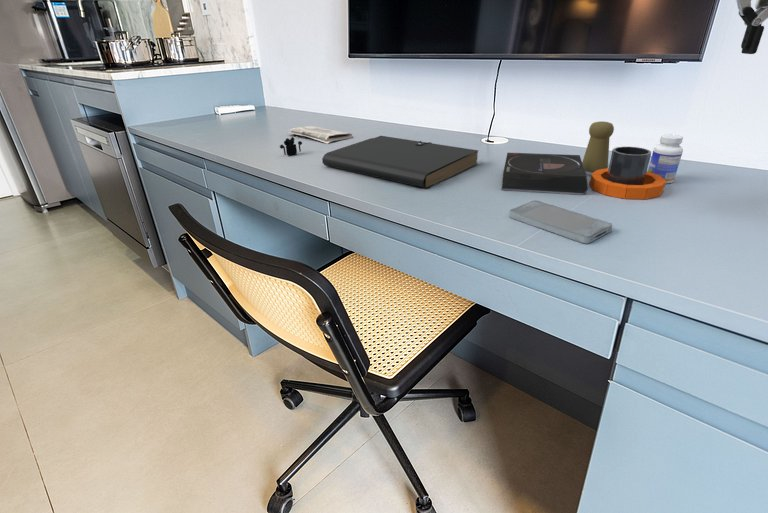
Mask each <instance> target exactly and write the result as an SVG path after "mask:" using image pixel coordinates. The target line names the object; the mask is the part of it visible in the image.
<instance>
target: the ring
mask: <svg viewBox="0 0 768 513" xmlns="http://www.w3.org/2000/svg"><path fill="white" fill-rule="evenodd" d="M608 169H609V167H608V168H606V169H600V170H596V171H595V172H591V174H590V175H591V176H590V180H589V183H588V184H589V187H590V188H591V190H592V191H593V192H594V191H595V192H597V193H599V194H602V195H604V196H607V197H612V198H618V199H623V200H650V199H655V198H659V197H660V196H661V195H662V194H663V193H664V191H665V186H666V184H665V183H666V180H665V179H664V178H662V177H661V176H660V175H657V174H654V173H651V172H648V170H647V172H646V177H645V181H644V185H625V184H620V183H614V182H611V181H608V180H606V179H607V174H608Z"/></svg>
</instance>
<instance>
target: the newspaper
mask: <svg viewBox="0 0 768 513" xmlns="http://www.w3.org/2000/svg"><path fill="white" fill-rule="evenodd" d="M287 133H288V134H292V135H296V136H301V137H307V138H309V139H313V140H315V141H318V142H322V143H325V144H327V145H328V144H329V143H332V142H334V141H341V140H342V141H343V140H348V139H350V138H352V136H353V133H349V132H344V131H340V130H335V129H329V128H324V127H319V126H314V125H310V126H309V125H308V126H307V125H306V126H299V127H298V126H297V127H294V128H290V130H289V131H287Z"/></svg>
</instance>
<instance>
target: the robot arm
mask: <svg viewBox="0 0 768 513" xmlns="http://www.w3.org/2000/svg"><path fill="white" fill-rule="evenodd" d="M735 1H736V5H737V9H738V16H739V17H740V18H741V19H742V21H743V22H744V26H746V28H745V31H744V34H743V38H742V41H741V45H740V48H741V54H745V55H755V54H756V53H757V52H758V48H759V46H760V43H761V39H762V36H763V33H764V30H765V25H762V24H763V23H764V22H765V21H766V20H768V0H755V4H754V8H755V9H754V8H753V7H752V0H735Z"/></svg>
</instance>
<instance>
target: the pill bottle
mask: <svg viewBox="0 0 768 513" xmlns="http://www.w3.org/2000/svg"><path fill="white" fill-rule="evenodd" d="M683 140H684V136H683V135H680V134H676V133H675V134H674V133H663V134H661V136H660V137H659V144H656V145H655V146H654V147H653V150H652V152H651V156H650V160H649V164H648V168H647V171H648V172H651V173H654V174H657V175H660V176H661V177H662V178H664V179H665V180H666V183H665V185H666V184H671V183H674V181H675V179H676V176H677V172H678V168H679V166H680V162H681V159H682V155H683V153H684V148H683V147H682V146H681V145H682V143H683Z"/></svg>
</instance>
